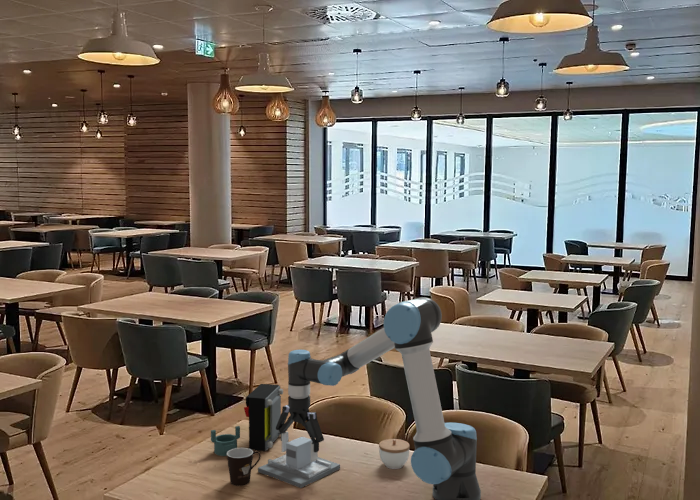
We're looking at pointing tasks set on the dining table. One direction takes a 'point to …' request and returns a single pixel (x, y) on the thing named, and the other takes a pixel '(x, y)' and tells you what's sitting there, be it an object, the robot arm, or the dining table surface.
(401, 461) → the lidded jar
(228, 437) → the bracket
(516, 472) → the dining table surface
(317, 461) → the din rail
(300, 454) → the block
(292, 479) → the mounting board
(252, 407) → the electrical component
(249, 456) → the coffee mug
